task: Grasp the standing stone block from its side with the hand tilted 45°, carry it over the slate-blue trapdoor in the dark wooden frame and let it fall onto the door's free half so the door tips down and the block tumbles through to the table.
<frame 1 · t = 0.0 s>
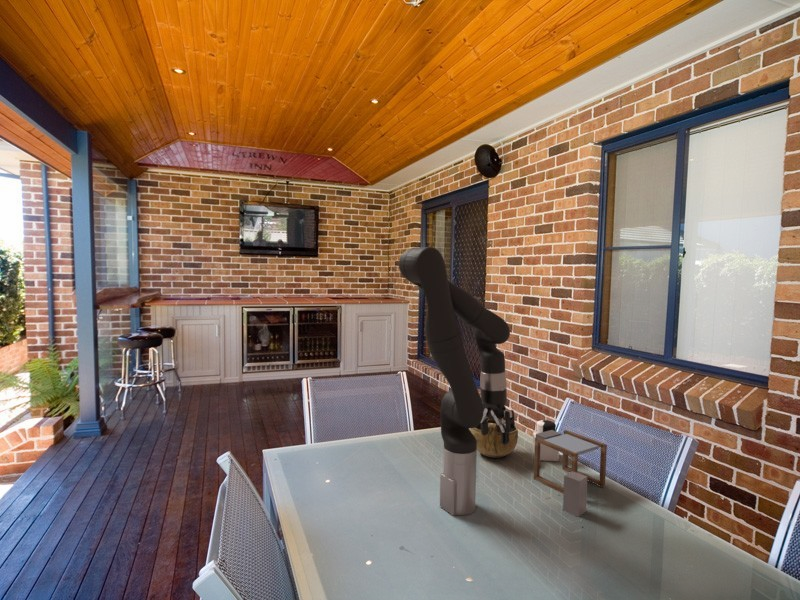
hand: (494, 439, 134), 17 cm above the table, tool pointing down, fingers open, 8 cm apart
trapdoor: (564, 442, 145), point 12 cm above the table, hinge at -0.1°
stone: (574, 510, 127), on the table
container: (545, 457, 165), on the table
ceramic bowl: (493, 455, 166), on the table
frame: (568, 482, 144), on the table
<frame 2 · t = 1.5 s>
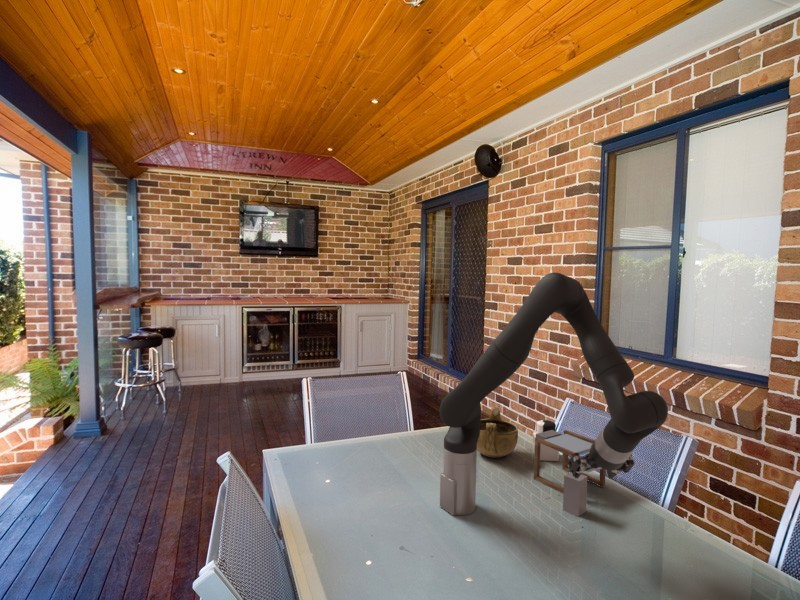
hand: (592, 474, 115), 15 cm above the table, tool tilted 45°, fingers open, 8 cm apart
nothing on the table moved.
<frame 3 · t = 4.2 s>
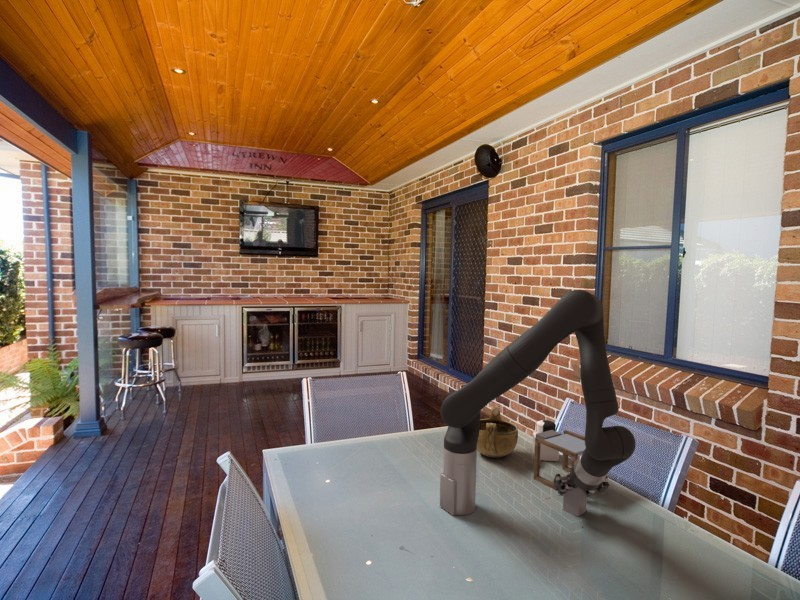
hand: (573, 492, 129), 4 cm above the table, tool tilted 45°, fingers closed on stone, 6 cm apart
stone: (574, 510, 127), on the table, touching gripper
everything else where it was.
when the fingers open (20 cm above the table, at t = 8.3 s): stone drops 14 cm and tips over, point 2 cm above the table.
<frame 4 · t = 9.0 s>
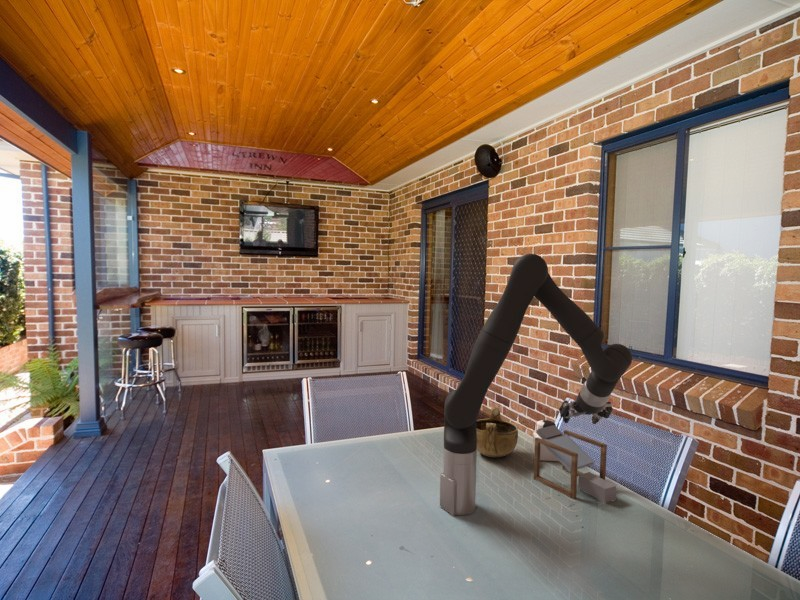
hand: (579, 420, 141), 21 cm above the table, tool tilted 45°, fingers open, 8 cm apart
trapdoor: (563, 446, 146), point 11 cm above the table, hinge at -26.7°
stone: (583, 480, 141), point 2 cm above the table, tilted 90°
everything else where it was.
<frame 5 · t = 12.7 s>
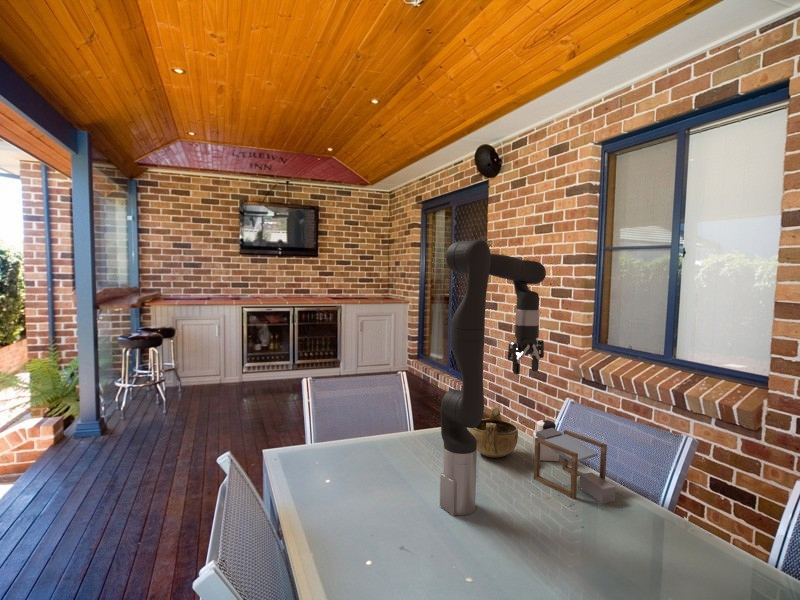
hand: (525, 372, 148), 34 cm above the table, tool pointing down, fingers open, 8 cm apart
trapdoor: (564, 444, 145), point 12 cm above the table, hinge at -11.6°
everything else where it was.
at the end: stone point 2.0 cm above the table; the gripper is holding nothing; stone moved 17.4 cm from its start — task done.
